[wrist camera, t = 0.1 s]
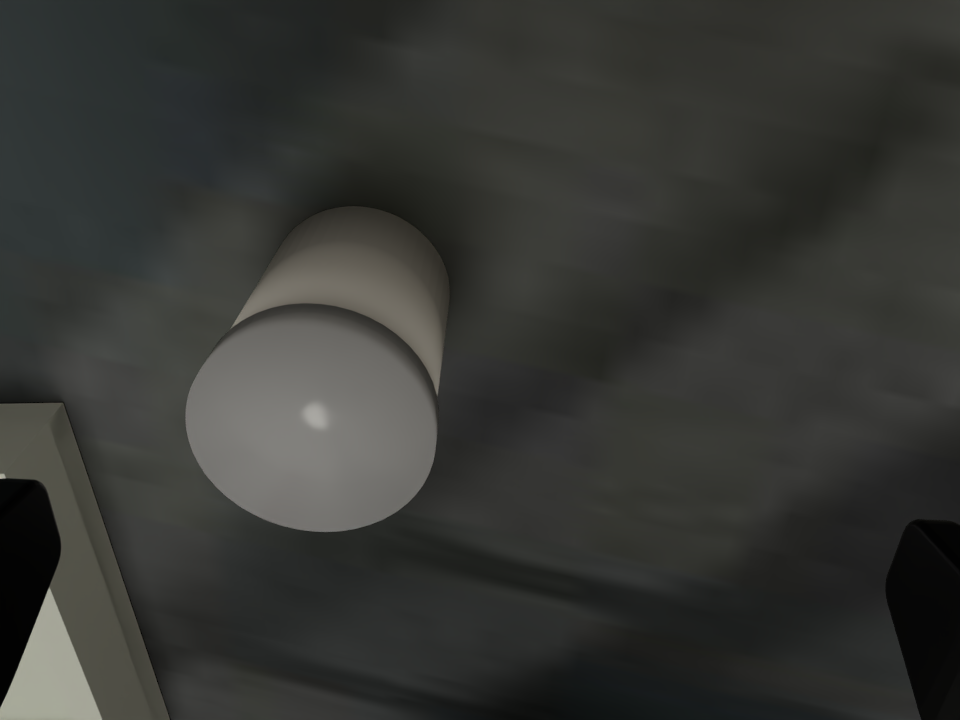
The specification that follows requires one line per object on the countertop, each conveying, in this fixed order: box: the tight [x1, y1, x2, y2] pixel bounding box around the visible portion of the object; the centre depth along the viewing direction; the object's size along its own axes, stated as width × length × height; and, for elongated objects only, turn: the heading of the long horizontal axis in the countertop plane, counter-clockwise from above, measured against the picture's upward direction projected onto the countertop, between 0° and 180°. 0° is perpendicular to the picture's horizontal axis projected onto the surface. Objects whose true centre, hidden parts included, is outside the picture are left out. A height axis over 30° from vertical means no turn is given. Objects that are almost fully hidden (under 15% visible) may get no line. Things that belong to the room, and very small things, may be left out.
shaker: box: [186, 206, 450, 532], centre depth 21 cm, size 5×5×7 cm
